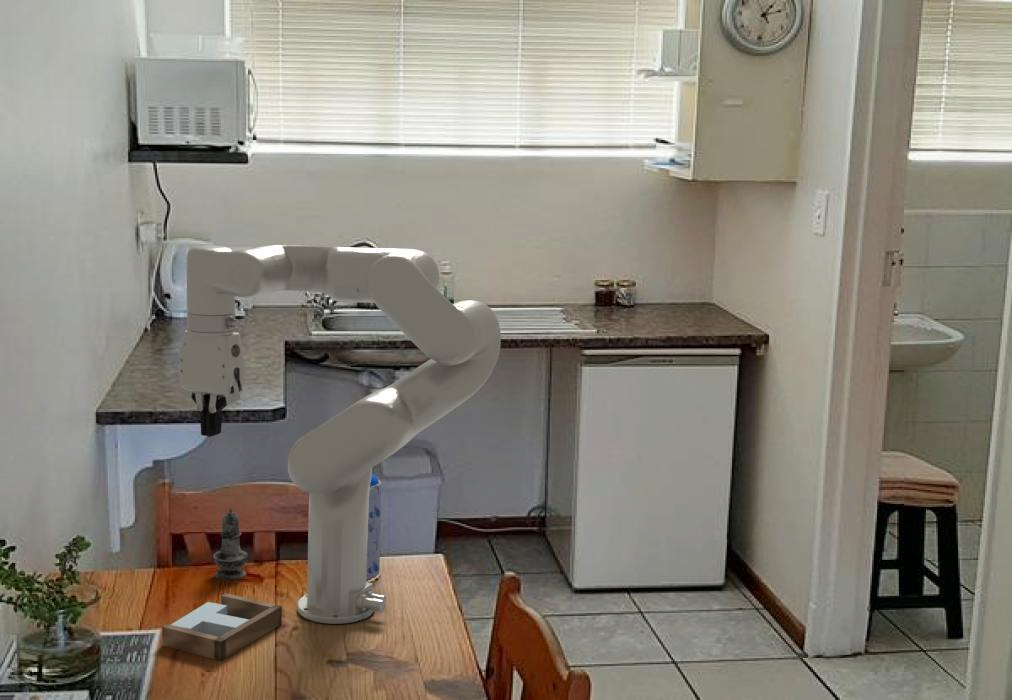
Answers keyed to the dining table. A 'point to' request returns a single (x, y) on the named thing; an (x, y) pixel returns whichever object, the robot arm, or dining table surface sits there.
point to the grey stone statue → (230, 550)
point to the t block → (210, 620)
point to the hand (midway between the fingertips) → (211, 434)
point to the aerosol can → (374, 528)
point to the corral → (219, 648)
